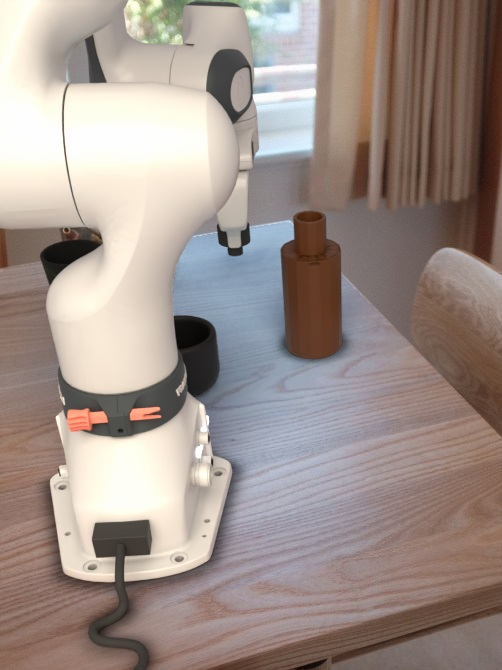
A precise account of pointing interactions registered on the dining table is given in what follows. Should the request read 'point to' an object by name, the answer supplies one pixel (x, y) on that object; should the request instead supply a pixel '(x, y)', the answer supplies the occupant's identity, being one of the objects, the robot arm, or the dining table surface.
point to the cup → (64, 255)
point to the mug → (197, 351)
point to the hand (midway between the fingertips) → (234, 237)
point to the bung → (224, 240)
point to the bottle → (312, 289)
